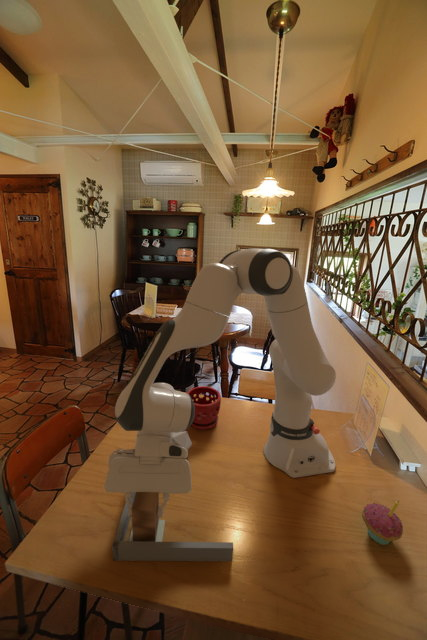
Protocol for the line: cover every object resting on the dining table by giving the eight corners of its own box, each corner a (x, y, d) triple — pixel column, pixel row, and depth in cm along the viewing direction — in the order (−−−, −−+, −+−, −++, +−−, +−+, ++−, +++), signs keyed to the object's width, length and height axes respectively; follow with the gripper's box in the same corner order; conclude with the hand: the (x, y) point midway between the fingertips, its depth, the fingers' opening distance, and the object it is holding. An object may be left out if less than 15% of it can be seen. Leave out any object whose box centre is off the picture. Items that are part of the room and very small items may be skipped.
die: (196, 450, 94) (187, 420, 96) (192, 457, 85) (182, 424, 88) (172, 459, 94) (163, 429, 96) (166, 466, 85) (156, 433, 88)
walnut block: (158, 521, 68) (158, 488, 65) (155, 542, 63) (154, 509, 60) (138, 520, 68) (136, 488, 65) (132, 542, 63) (131, 508, 60)
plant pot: (190, 409, 115) (191, 383, 112) (221, 414, 113) (223, 388, 109) (180, 430, 103) (181, 401, 99) (215, 436, 100) (217, 407, 97)
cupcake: (393, 525, 72) (404, 488, 68) (403, 559, 64) (416, 520, 60) (356, 513, 74) (365, 477, 71) (361, 545, 66) (372, 506, 63)
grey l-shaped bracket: (226, 484, 81) (227, 473, 80) (232, 561, 62) (233, 548, 61) (135, 482, 80) (135, 471, 79) (113, 560, 61) (112, 547, 60)
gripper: (107, 447, 67) (94, 518, 60) (192, 449, 68) (189, 519, 61) (114, 449, 72) (103, 514, 66) (193, 451, 73) (190, 515, 67)
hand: (145, 516), depth 64 cm, fingers closed on walnut block, 5 cm apart
